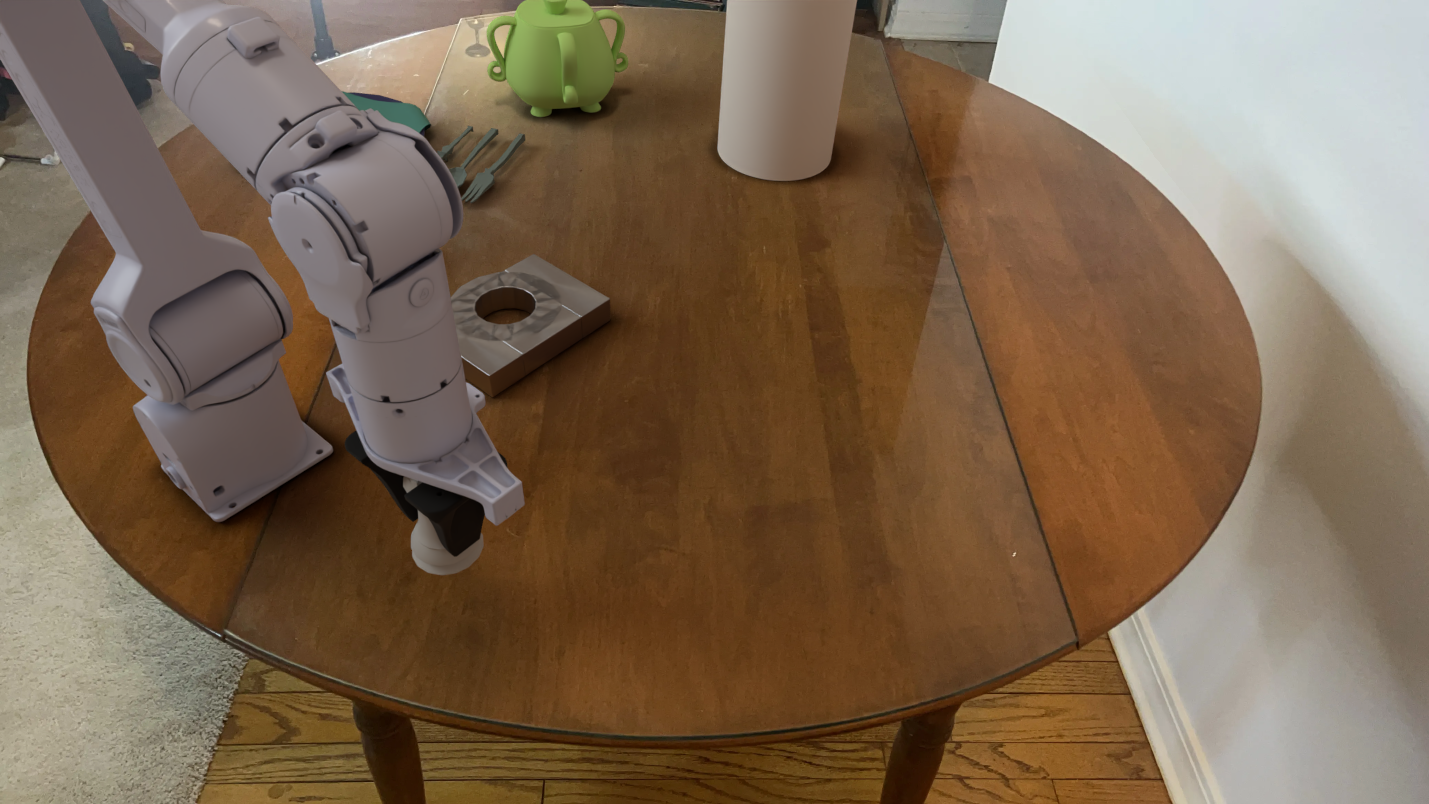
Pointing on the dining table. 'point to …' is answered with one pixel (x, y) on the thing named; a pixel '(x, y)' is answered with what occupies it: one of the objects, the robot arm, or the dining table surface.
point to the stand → (525, 345)
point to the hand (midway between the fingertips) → (443, 527)
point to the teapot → (558, 54)
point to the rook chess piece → (437, 545)
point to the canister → (782, 85)
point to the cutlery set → (419, 122)
